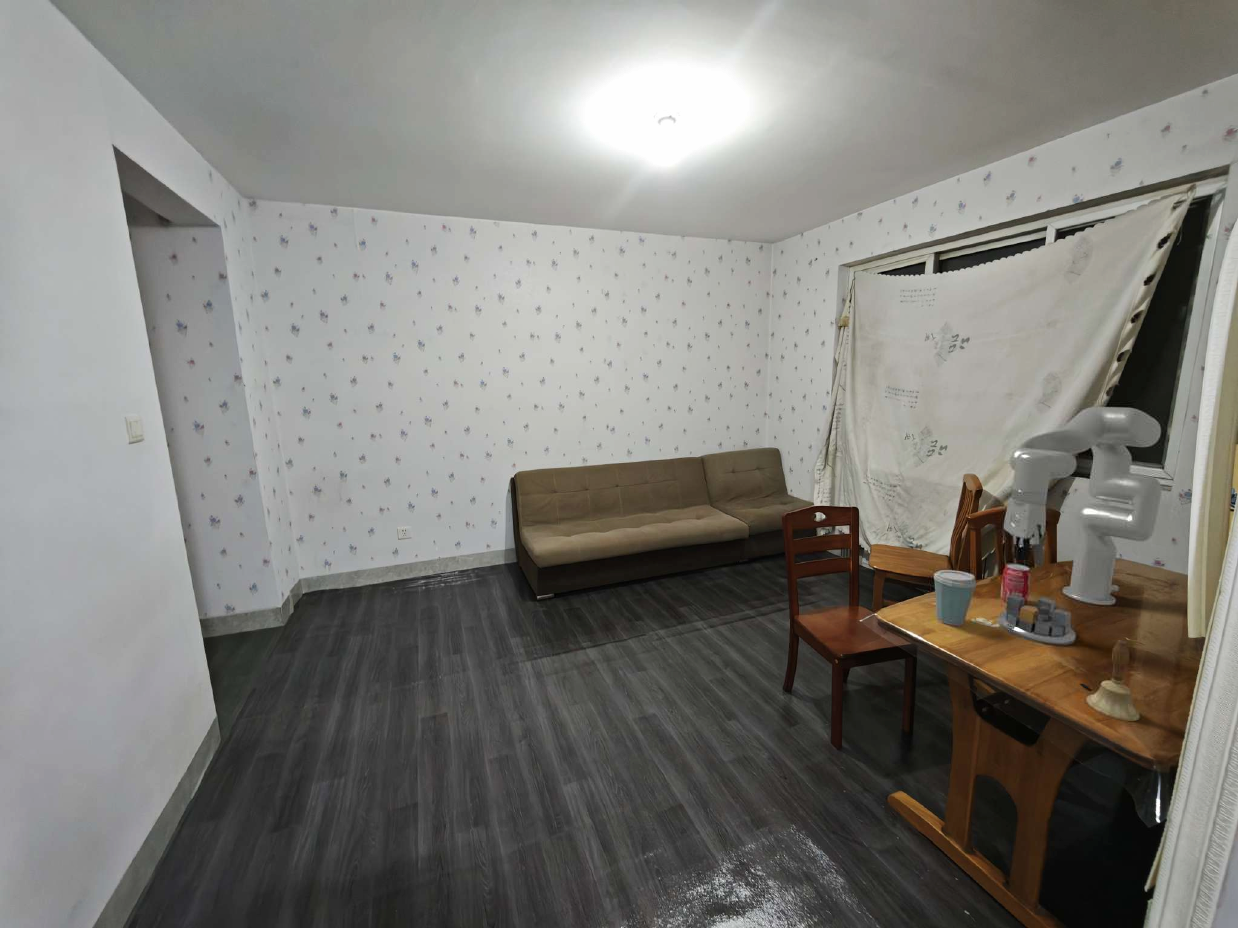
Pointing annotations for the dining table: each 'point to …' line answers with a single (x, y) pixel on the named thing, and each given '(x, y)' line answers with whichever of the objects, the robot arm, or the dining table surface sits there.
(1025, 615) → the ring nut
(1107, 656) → the dining table surface
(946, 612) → the disposable coffee cup
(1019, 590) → the soda can
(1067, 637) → the base
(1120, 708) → the hand bell
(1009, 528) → the robot arm
